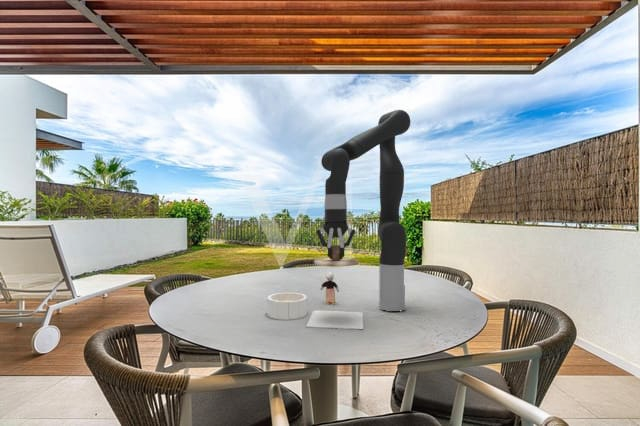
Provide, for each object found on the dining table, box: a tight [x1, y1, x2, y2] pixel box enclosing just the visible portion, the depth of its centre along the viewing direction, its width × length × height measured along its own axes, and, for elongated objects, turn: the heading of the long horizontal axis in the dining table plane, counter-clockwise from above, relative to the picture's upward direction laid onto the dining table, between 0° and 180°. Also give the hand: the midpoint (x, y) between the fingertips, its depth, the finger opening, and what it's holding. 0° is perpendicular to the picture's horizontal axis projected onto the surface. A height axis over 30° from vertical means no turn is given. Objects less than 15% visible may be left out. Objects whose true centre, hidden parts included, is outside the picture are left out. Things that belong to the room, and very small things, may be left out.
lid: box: [313, 244, 359, 268], centre depth 117 cm, size 15×15×6 cm
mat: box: [305, 310, 364, 330], centre depth 116 cm, size 18×18×1 cm
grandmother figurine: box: [319, 271, 340, 306], centre depth 138 cm, size 8×4×13 cm, turn 84°
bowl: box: [266, 292, 308, 321], centre depth 123 cm, size 14×14×6 cm
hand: (336, 258), depth 117 cm, fingers closed on lid, 3 cm apart
